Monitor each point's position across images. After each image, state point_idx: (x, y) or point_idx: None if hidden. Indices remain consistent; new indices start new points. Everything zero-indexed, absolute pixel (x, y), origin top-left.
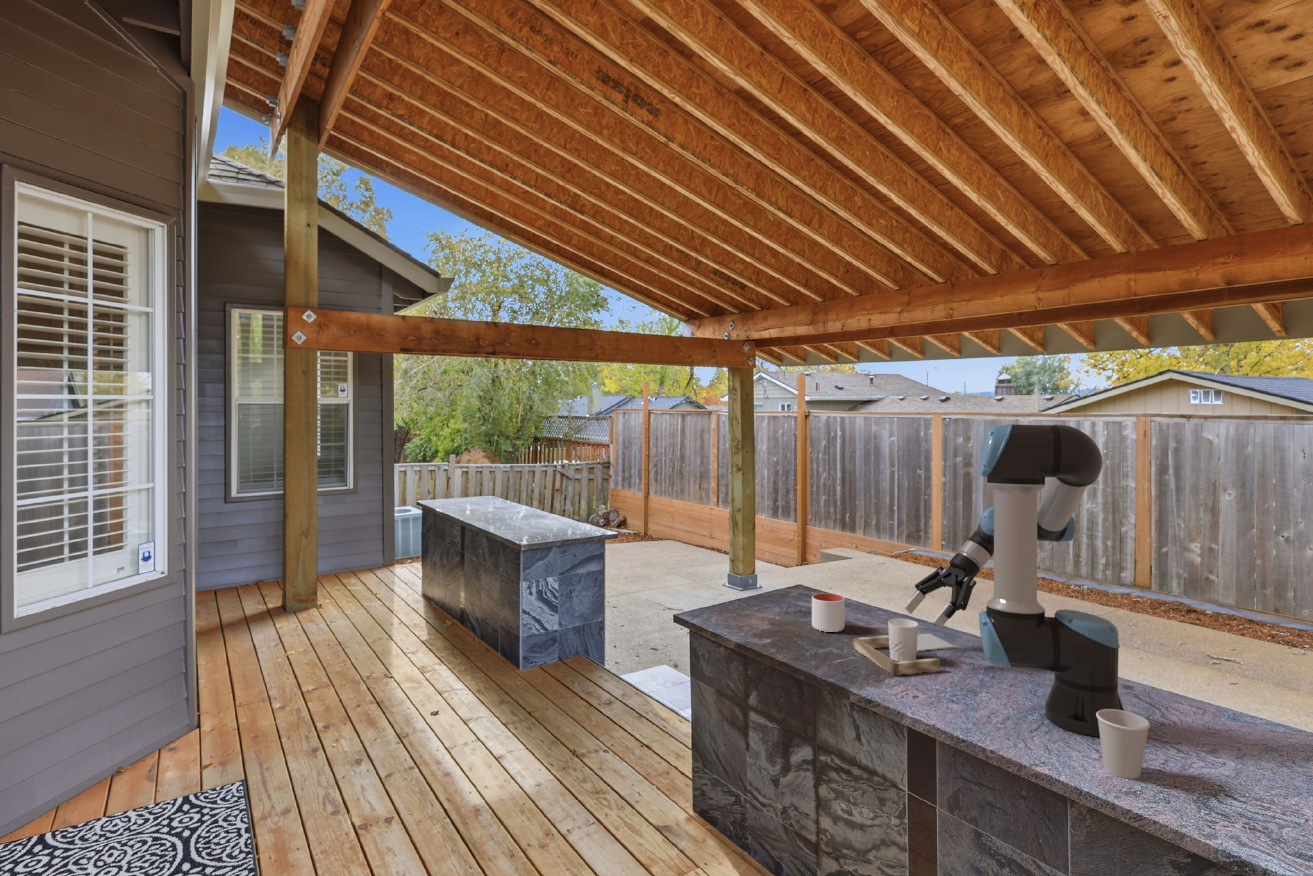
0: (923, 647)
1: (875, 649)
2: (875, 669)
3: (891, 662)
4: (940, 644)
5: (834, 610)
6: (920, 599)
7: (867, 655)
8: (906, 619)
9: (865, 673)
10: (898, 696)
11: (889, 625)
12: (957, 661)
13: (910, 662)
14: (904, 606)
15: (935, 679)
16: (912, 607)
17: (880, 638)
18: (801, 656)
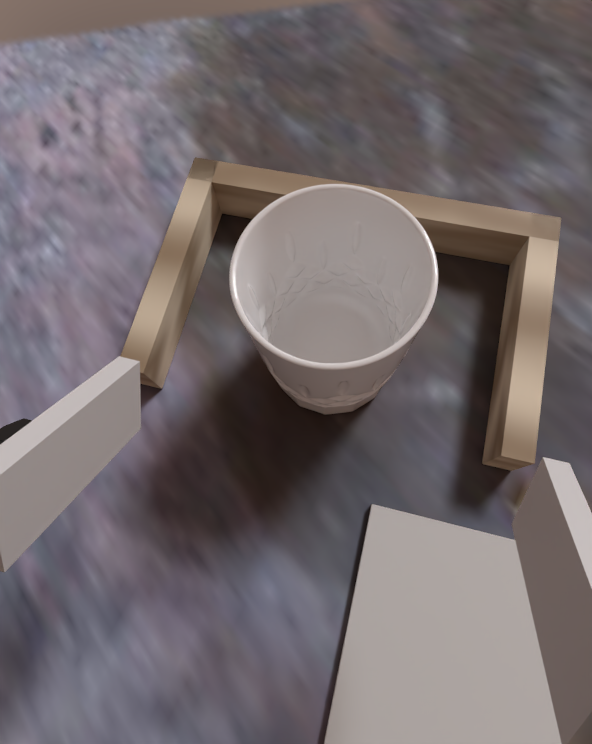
0: (390, 565)
1: None
2: None
3: (215, 163)
4: (388, 718)
5: None
6: (559, 658)
7: None
8: (385, 350)
9: (279, 125)
10: (80, 96)
11: (364, 197)
12: (172, 573)
13: (170, 227)
14: (570, 468)
15: (95, 300)
16: (533, 538)
17: (513, 351)
18: (529, 37)
